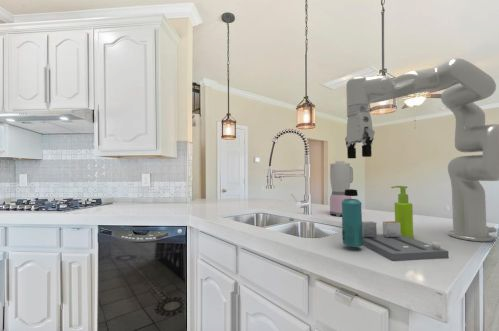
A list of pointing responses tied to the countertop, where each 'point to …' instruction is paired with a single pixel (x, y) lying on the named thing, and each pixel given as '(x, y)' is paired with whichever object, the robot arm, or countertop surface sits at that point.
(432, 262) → the countertop surface
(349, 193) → the beverage bottle
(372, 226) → the fader tab
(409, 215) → the soap dispenser
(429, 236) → the countertop surface
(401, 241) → the console
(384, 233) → the fader tab
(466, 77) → the robot arm
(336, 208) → the blender
